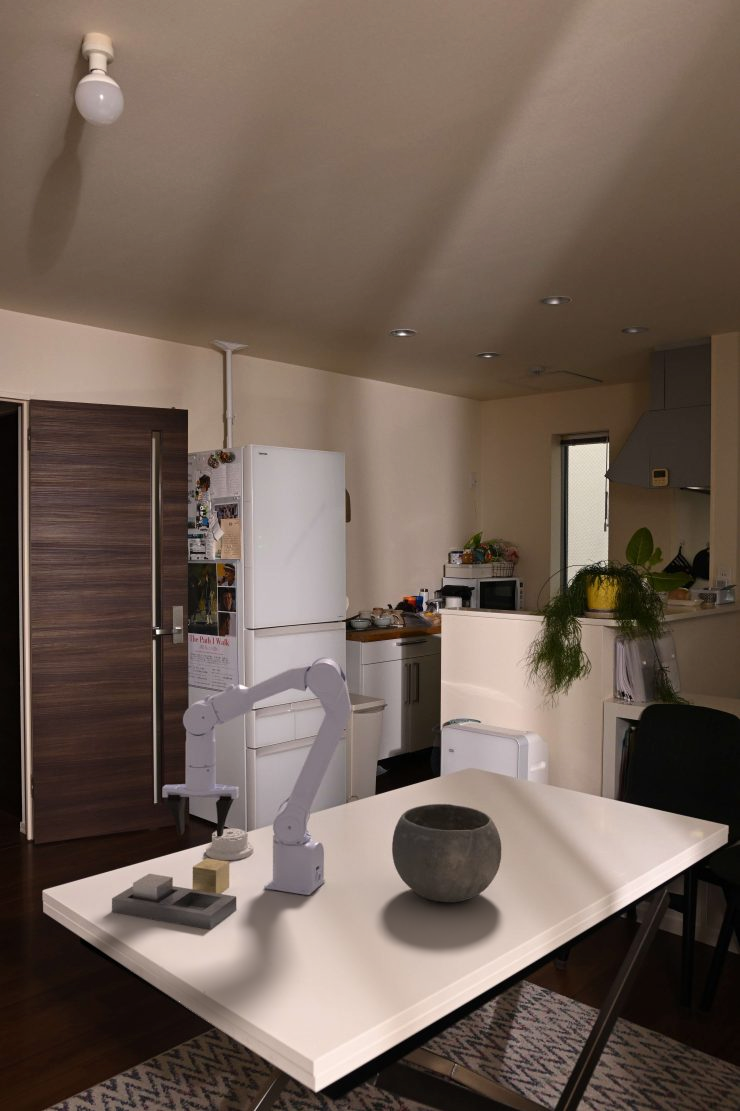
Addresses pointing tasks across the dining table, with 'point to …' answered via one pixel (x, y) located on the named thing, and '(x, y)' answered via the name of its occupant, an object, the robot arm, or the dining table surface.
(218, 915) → the grey tray
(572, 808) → the dining table surface
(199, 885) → the brushed gold cube
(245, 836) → the mechanical component
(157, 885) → the silver gray cube
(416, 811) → the bowl
